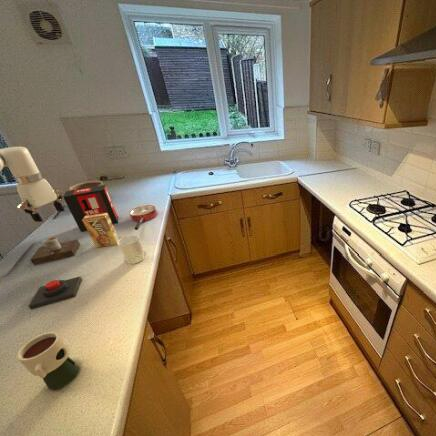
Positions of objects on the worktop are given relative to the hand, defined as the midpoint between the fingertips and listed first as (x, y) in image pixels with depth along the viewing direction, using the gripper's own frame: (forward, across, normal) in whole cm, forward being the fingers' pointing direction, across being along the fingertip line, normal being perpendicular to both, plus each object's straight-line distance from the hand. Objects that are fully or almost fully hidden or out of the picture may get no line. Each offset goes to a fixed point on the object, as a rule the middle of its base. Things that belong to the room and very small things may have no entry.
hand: (50, 216), depth 105 cm
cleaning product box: (+17, -22, -3) cm, 28 cm away
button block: (+17, +27, +24) cm, 40 cm away
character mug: (+17, +53, +54) cm, 77 cm away
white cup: (+17, +6, +39) cm, 43 cm away
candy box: (+17, -4, +17) cm, 24 cm away
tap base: (+17, +5, 0) cm, 18 cm away
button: (+14, +27, +24) cm, 39 cm away
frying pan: (+17, -25, +22) cm, 37 cm away
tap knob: (+14, +5, 0) cm, 15 cm away
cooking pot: (+17, -49, -32) cm, 61 cm away
